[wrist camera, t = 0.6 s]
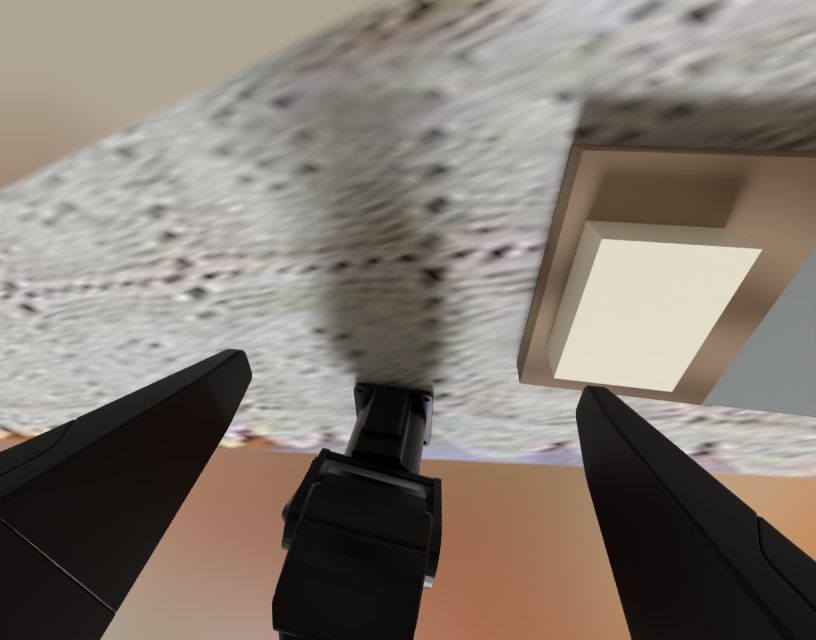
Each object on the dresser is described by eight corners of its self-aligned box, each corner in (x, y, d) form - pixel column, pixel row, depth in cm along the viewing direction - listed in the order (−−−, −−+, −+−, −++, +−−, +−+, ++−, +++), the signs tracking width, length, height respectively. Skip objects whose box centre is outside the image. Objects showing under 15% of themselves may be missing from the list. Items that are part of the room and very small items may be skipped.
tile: (651, 361, 20) (671, 392, 18) (546, 349, 21) (553, 378, 19) (724, 228, 15) (762, 249, 13) (586, 220, 16) (602, 238, 14)
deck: (684, 382, 23) (700, 404, 21) (516, 363, 24) (519, 383, 22) (834, 152, 15) (878, 159, 13) (571, 144, 16) (582, 150, 15)
